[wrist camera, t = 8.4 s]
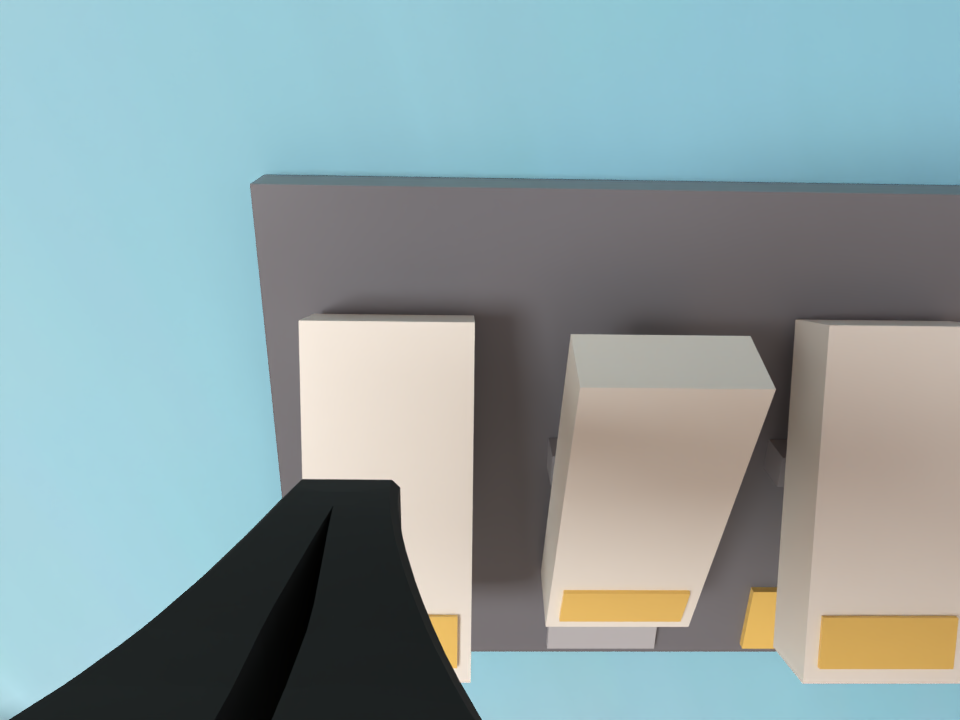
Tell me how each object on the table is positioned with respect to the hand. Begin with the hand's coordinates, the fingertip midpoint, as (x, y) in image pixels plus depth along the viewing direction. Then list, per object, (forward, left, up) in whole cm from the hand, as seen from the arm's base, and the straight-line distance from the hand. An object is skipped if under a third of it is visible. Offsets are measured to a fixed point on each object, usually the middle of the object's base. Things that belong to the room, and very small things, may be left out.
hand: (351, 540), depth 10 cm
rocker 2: (-5, +3, -6) cm, 8 cm away
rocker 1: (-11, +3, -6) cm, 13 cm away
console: (-5, +3, -9) cm, 11 cm away
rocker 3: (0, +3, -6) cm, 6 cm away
